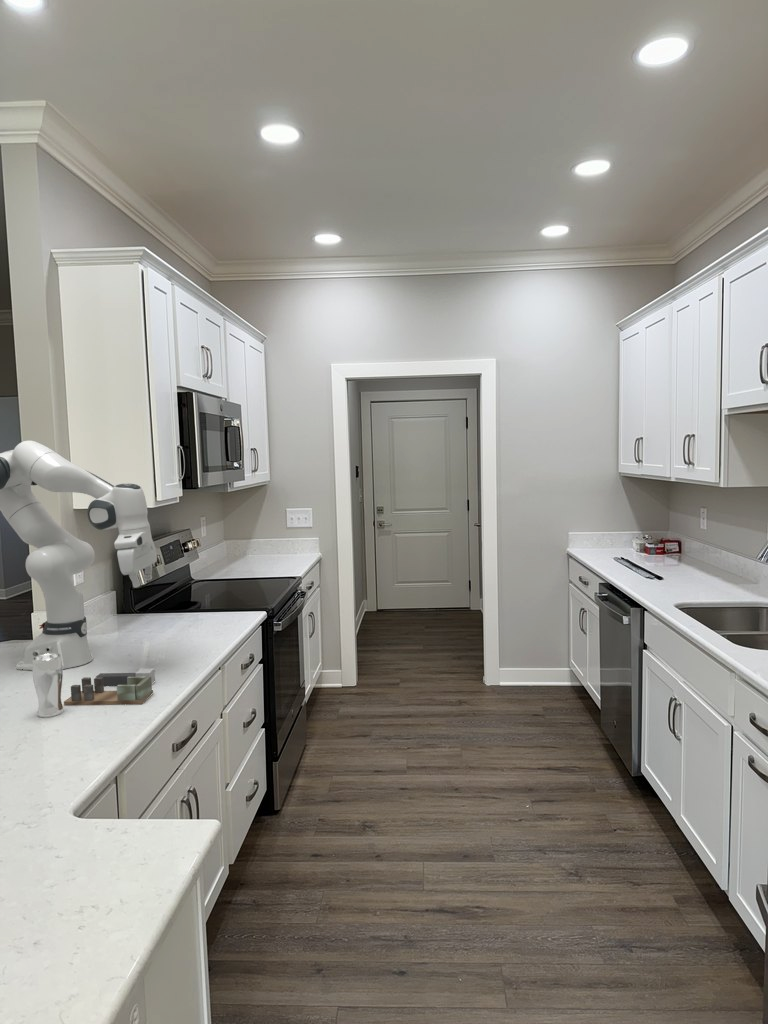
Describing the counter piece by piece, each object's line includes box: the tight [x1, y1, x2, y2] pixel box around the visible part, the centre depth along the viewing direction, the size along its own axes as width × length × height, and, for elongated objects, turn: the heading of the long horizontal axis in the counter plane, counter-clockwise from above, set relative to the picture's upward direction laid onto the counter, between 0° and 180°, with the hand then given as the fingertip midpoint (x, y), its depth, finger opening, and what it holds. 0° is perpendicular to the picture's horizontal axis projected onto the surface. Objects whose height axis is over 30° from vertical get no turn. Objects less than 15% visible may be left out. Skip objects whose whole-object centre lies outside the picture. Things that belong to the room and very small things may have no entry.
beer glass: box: [31, 653, 64, 718], centre depth 176 cm, size 7×7×15 cm
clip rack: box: [63, 676, 154, 706], centre depth 185 cm, size 21×8×5 cm, turn 88°
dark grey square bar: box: [95, 668, 156, 688], centre depth 197 cm, size 16×4×4 cm, turn 88°
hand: (142, 583), depth 203 cm, fingers open, 8 cm apart
